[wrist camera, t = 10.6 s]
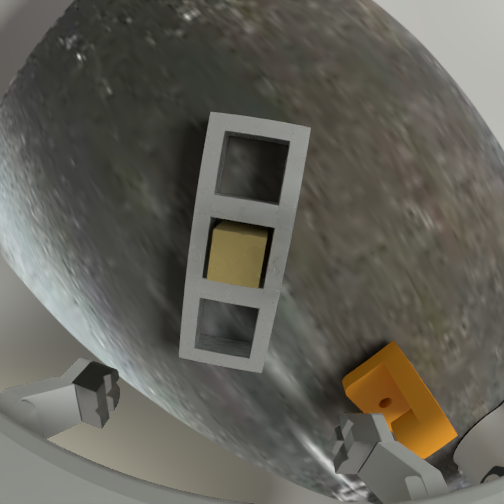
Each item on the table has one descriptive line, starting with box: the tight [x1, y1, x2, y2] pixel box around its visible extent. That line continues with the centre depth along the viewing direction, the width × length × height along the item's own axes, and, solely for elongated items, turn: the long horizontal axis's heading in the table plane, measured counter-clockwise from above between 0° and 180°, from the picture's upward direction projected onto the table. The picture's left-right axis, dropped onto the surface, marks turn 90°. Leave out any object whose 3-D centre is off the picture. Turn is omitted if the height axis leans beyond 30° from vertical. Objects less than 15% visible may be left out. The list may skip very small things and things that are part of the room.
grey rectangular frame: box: [179, 112, 311, 373], centre depth 27 cm, size 8×22×3 cm, turn 170°
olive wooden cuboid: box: [207, 220, 267, 289], centre depth 26 cm, size 4×4×5 cm
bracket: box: [342, 340, 458, 460], centre depth 25 cm, size 11×7×12 cm, turn 41°
